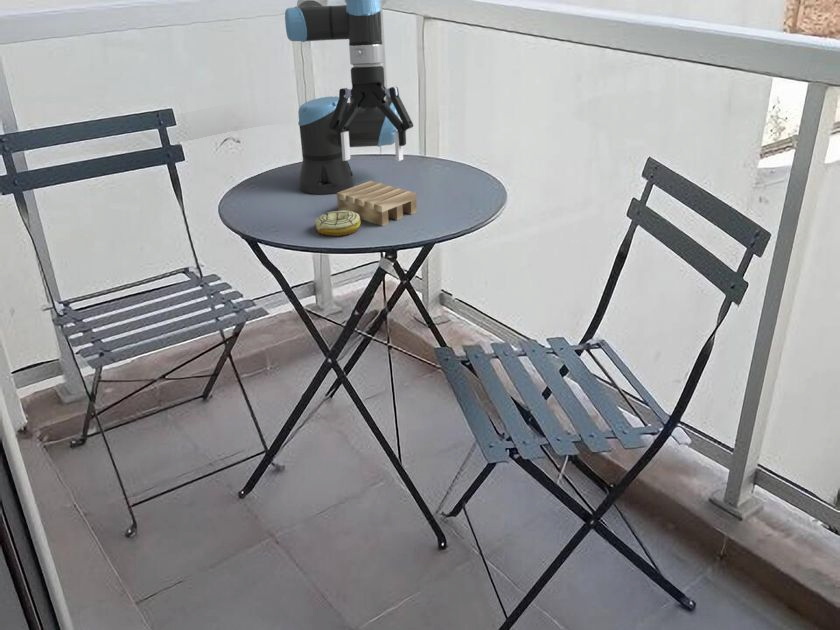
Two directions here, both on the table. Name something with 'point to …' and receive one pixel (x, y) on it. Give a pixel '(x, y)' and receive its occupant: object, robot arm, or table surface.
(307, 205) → the table surface
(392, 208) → the pallet
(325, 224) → the decorated donut
